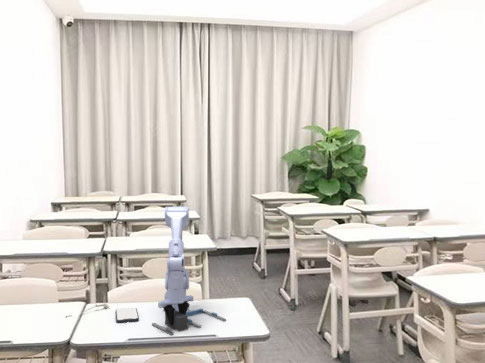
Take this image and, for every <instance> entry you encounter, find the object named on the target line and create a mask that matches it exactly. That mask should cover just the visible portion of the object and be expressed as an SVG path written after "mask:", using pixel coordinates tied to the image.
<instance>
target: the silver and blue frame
mask: <svg viewBox="0 0 485 363" xmlns="http://www.w3.org/2000/svg"><path fill="white" fill-rule="evenodd" d="M200 314H204V315H208V316H210V317H211V318H214V319H217V320H219V321H220V322H227V318H225V317H223V316H220V315H218V313H217V312H214V311H213V312H210V311H207V310H204V309H203V308H199V309H194V310H190V311H189V312H186V314H185V315H187V316H188V317H192V316H195V315H200ZM188 325H191V326H193V327H194V328H197V329H201V328H202V325H200V324H198V323H196V322H194V321H193V319H191V318H188ZM151 326H152V327H155V328H156V329H157V330H160V331H162V332H163V333H166V334H168V335H169V336H171V337H172V336H174V335H175V332H173V331H171V330H170V329H167V328H166V327H164V326H162V325H161V324H158V323H157V322H151Z"/></svg>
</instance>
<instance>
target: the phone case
mask: <svg viewBox="0 0 485 363" xmlns="http://www.w3.org/2000/svg"><path fill="white" fill-rule="evenodd" d="M139 317H140V316H139V312H138V308H136V307H128V308H125V307H124V308H117V309H115V319H116V320H115V321H116V323H117V324H127V322H129V323H137V322H139V321H140V318H139Z"/></svg>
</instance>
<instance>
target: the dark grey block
mask: <svg viewBox="0 0 485 363" xmlns="http://www.w3.org/2000/svg"><path fill="white" fill-rule="evenodd" d="M188 319H189V316H187V315H185V314H183V313H180V312H178V311H176V310H175V311H174V322H173V325H170V324H169V322H168V318H167V315H166V312H165V311H164V324H165V325H166V326H168V327H170V328H171V329H174V330H175V331H177V332H182V331H185V330H189V324H188Z"/></svg>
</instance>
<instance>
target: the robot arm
mask: <svg viewBox="0 0 485 363" xmlns="http://www.w3.org/2000/svg"><path fill="white" fill-rule="evenodd" d="M189 211H190V208H189V206H187V205H186V206H167V205H166V206H165V207H164V221H165V225H166V227H169V228H170V230H171V240H170V241H169V242H168V257H167V259H166V272H165V277H164V278H165V280H164V285H165V286H164V287H165V288H164V289H165V290H166V291H165V292H164V300H161V301H158V303H157V307H158V308H159V309H162V311H164V313H165V312H166V315H167V318H168V322H169V324H170V325H173V322H174V311H175V310H176V311H178V312H180V313H183V314H186V312H189V311H191V310H190V309H189V308H190V303H189V302H194V295H187V290H189V289H190V272H189V270H188V269H187V268H186V267H185V265H186V264H185V253H184V248H185V247H184V246H185V244H184V241H183V231H184V228H185V227H188V226H189V219H190V215H189V214H190V213H189Z"/></svg>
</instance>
